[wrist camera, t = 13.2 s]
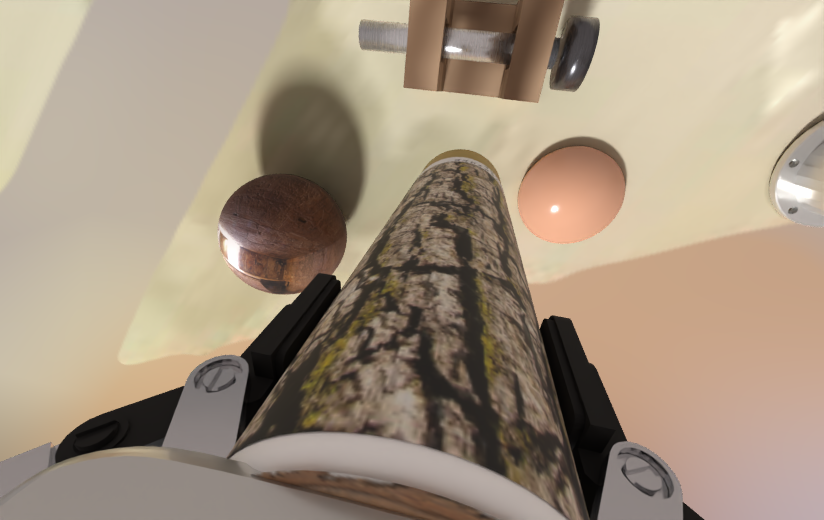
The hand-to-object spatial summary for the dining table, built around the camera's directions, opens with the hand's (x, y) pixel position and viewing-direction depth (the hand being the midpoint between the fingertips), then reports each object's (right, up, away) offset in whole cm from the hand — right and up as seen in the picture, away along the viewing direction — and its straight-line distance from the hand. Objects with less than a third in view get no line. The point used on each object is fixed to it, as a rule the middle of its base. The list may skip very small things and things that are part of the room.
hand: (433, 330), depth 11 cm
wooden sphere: (-15, +9, +37) cm, 41 cm away
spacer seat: (+19, +10, +29) cm, 36 cm away
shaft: (+5, +24, +21) cm, 32 cm away
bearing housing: (+6, +25, +24) cm, 35 cm away
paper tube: (+3, +8, +16) cm, 18 cm away
